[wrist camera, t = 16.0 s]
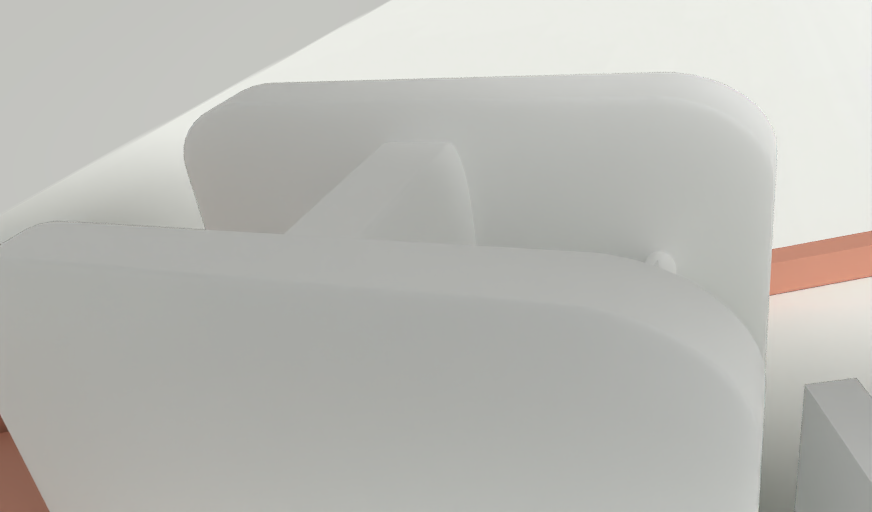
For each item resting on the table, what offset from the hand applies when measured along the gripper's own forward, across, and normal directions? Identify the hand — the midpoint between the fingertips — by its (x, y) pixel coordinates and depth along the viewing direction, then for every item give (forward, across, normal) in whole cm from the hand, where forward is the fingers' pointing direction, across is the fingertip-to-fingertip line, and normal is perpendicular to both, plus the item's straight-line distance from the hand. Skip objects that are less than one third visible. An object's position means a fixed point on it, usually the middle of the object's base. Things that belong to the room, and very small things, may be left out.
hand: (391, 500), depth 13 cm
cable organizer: (+5, 0, -8) cm, 9 cm away
